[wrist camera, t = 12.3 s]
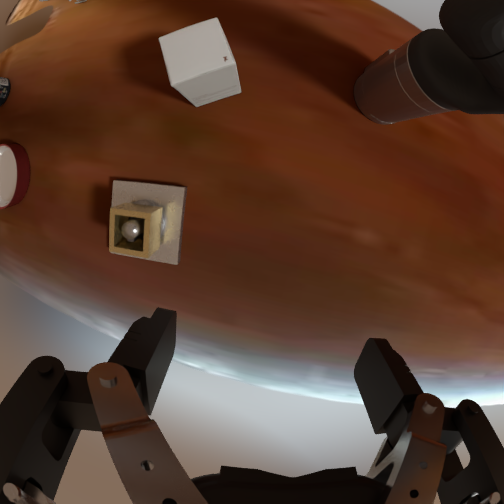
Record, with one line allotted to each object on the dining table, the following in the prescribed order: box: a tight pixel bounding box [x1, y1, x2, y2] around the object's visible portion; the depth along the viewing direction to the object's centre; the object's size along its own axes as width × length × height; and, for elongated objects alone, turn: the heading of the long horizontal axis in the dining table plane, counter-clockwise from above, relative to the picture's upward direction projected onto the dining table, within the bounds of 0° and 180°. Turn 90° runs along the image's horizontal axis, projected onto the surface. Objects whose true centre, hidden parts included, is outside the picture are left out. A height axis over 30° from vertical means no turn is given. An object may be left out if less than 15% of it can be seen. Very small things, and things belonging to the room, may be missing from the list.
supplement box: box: [159, 17, 241, 107], centre depth 29 cm, size 7×7×13 cm
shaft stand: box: [111, 180, 187, 265], centre depth 38 cm, size 12×12×7 cm
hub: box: [109, 203, 163, 258], centre depth 37 cm, size 6×6×5 cm
